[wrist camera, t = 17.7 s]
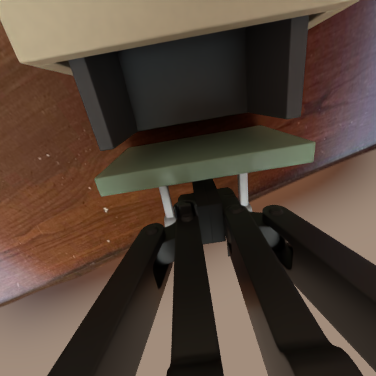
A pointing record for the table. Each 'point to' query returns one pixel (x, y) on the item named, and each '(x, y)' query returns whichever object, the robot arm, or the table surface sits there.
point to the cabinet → (135, 23)
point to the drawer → (197, 106)
